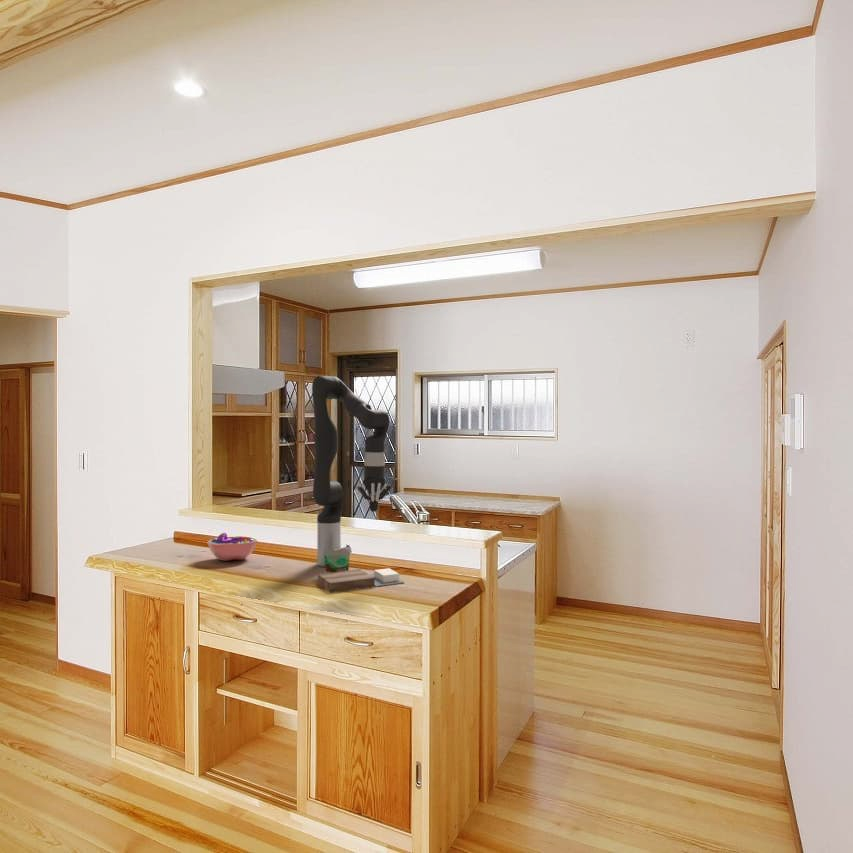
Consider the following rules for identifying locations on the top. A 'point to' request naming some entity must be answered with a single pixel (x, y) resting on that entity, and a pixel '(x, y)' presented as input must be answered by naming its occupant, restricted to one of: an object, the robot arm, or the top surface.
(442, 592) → the top surface
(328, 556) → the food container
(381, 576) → the tile
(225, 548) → the cell model
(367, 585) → the brown wooden board
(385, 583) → the mat
